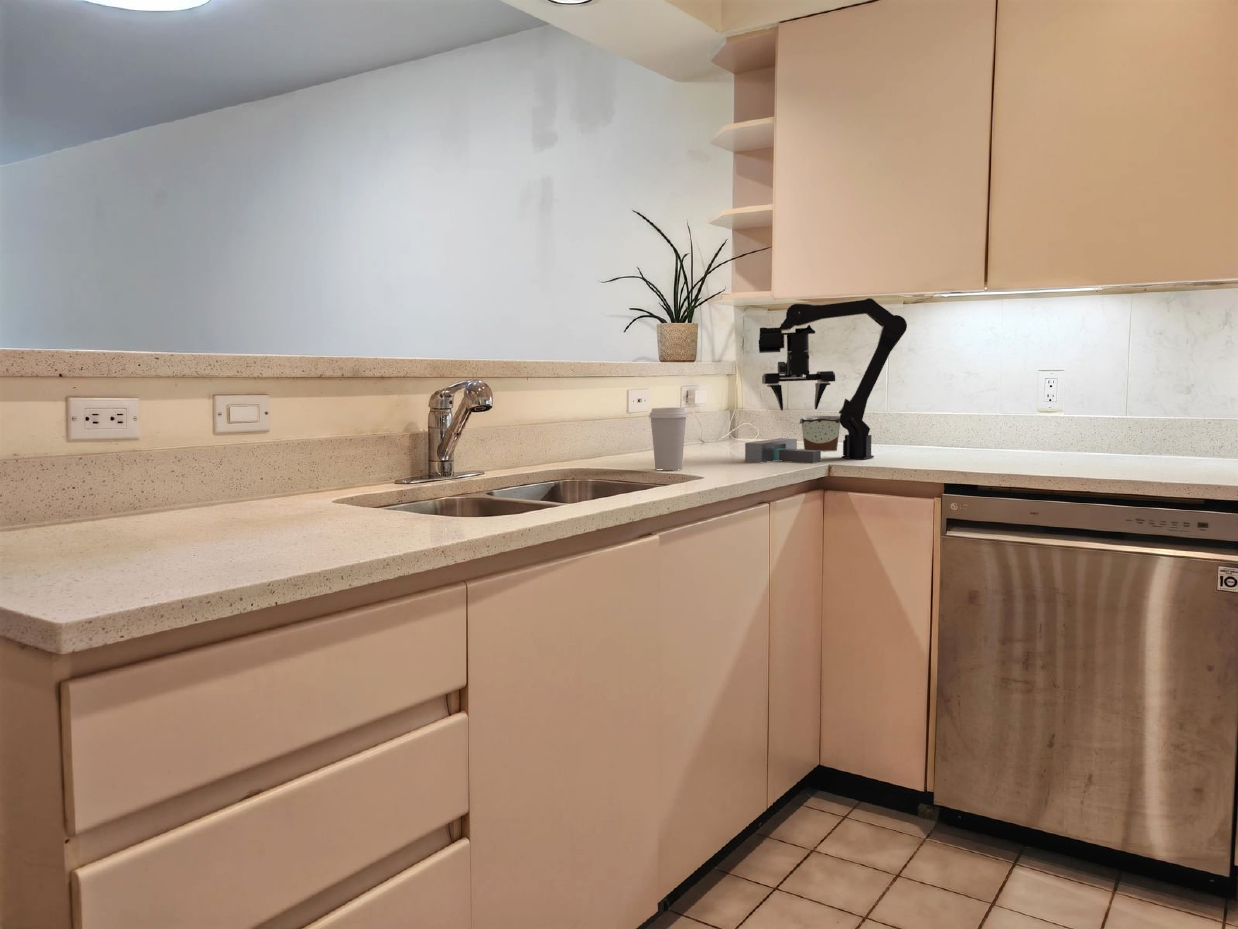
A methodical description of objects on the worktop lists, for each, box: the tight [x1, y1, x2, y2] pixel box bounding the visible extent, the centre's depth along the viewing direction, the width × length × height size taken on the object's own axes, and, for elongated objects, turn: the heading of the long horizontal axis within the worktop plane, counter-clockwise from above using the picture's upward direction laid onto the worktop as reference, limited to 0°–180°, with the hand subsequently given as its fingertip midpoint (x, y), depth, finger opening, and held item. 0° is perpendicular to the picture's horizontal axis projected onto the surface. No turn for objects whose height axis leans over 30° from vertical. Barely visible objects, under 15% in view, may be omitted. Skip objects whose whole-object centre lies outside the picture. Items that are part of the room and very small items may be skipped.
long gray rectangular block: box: [744, 437, 798, 463], centre depth 242 cm, size 5×18×5 cm, turn 139°
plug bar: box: [774, 448, 822, 464], centre depth 237 cm, size 13×4×3 cm, turn 49°
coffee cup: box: [648, 407, 689, 471], centre depth 221 cm, size 10×10×15 cm
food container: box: [798, 415, 841, 452], centre depth 266 cm, size 12×6×10 cm, turn 84°
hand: (798, 409), depth 244 cm, fingers open, 9 cm apart
